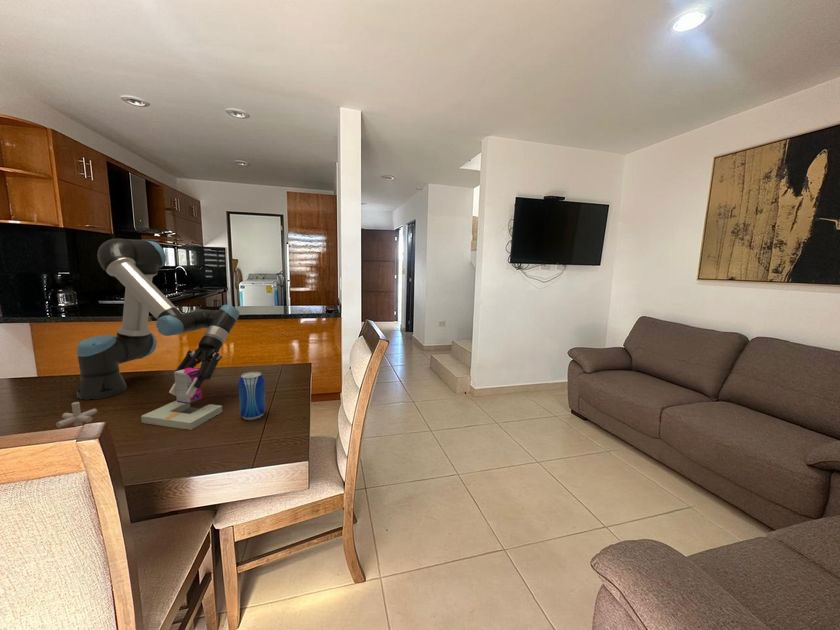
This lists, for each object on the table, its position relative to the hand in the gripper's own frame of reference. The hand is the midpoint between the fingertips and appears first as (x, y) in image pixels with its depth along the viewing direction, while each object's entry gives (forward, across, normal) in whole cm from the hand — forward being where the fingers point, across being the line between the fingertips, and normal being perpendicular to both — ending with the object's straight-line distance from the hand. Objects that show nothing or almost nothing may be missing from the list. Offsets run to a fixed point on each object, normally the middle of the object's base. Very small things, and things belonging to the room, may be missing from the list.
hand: (180, 394), depth 119 cm
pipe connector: (+18, +23, +5) cm, 30 cm away
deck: (+6, 0, -7) cm, 9 cm away
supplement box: (0, 0, -5) cm, 5 cm away
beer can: (+1, -22, -12) cm, 26 cm away
